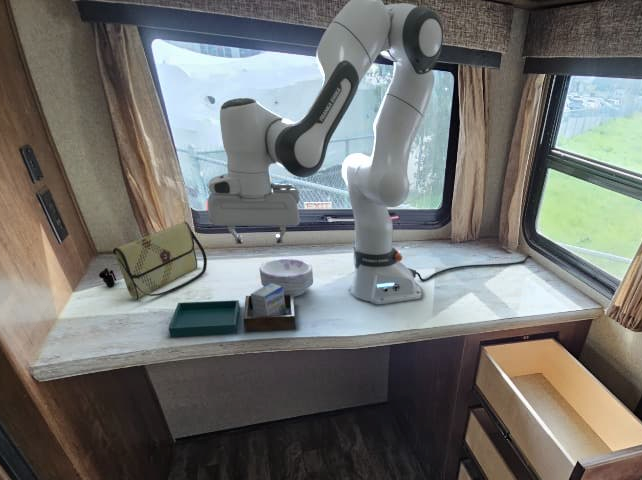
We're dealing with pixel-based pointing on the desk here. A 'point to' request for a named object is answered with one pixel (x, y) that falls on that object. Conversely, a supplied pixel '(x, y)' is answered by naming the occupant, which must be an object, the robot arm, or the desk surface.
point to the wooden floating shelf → (269, 318)
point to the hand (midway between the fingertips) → (259, 243)
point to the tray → (205, 318)
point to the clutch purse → (158, 260)
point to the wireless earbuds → (108, 277)
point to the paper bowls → (287, 275)
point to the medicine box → (269, 301)
